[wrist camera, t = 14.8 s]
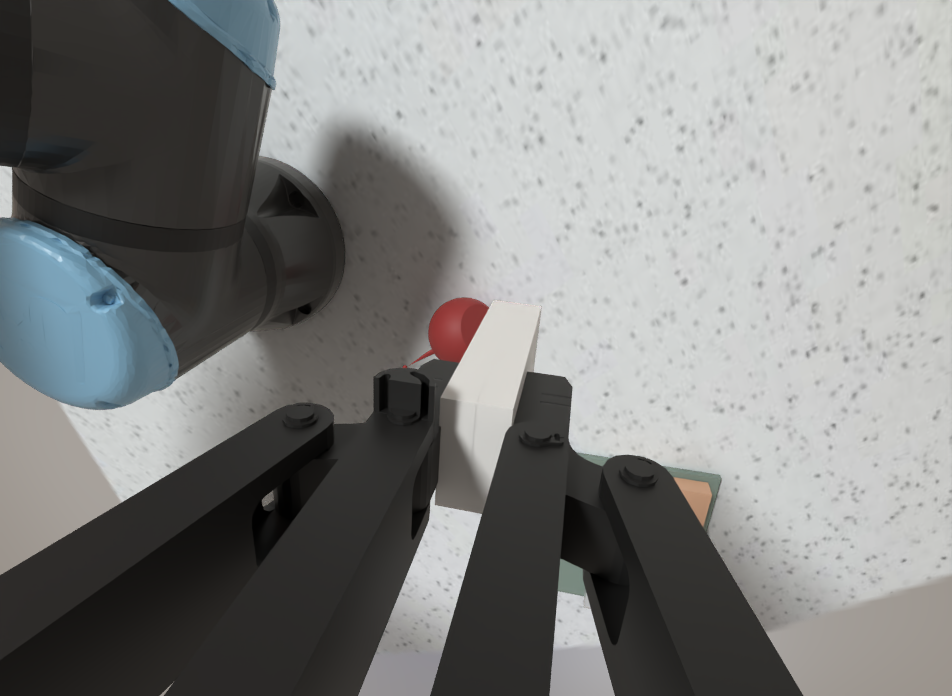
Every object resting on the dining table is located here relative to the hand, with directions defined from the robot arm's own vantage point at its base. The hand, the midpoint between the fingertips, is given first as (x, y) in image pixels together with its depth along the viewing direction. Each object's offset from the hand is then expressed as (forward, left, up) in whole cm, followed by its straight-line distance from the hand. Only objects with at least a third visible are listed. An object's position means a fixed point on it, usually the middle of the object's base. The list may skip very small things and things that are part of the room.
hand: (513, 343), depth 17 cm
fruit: (-8, -12, -30) cm, 33 cm away
